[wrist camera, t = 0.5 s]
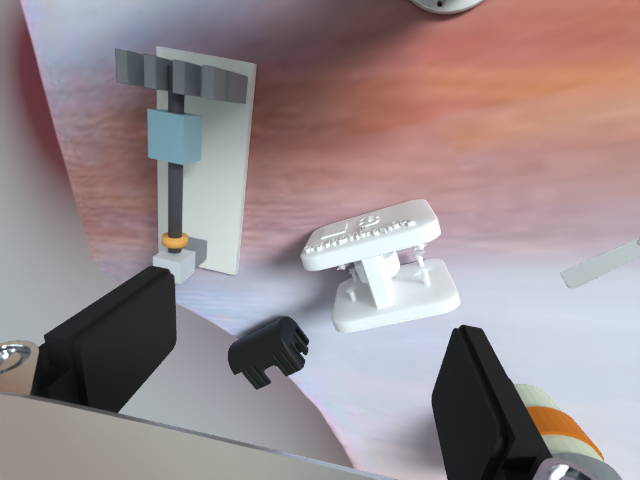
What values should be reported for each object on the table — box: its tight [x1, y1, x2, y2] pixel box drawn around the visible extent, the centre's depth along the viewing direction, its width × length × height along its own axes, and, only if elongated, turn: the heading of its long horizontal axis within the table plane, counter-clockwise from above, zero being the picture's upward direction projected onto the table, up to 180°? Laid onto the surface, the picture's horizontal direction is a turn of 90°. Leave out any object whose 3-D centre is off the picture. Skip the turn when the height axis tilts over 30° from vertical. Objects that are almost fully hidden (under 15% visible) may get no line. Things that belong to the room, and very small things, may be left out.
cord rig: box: [115, 46, 257, 284], centre depth 41 cm, size 28×12×9 cm, turn 170°
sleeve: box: [147, 109, 203, 165], centre depth 37 cm, size 5×4×4 cm
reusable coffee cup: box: [514, 384, 622, 480], centre depth 44 cm, size 12×12×15 cm
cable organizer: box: [300, 199, 460, 333], centre depth 40 cm, size 15×11×12 cm
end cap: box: [228, 316, 309, 389], centre depth 50 cm, size 10×7×7 cm
